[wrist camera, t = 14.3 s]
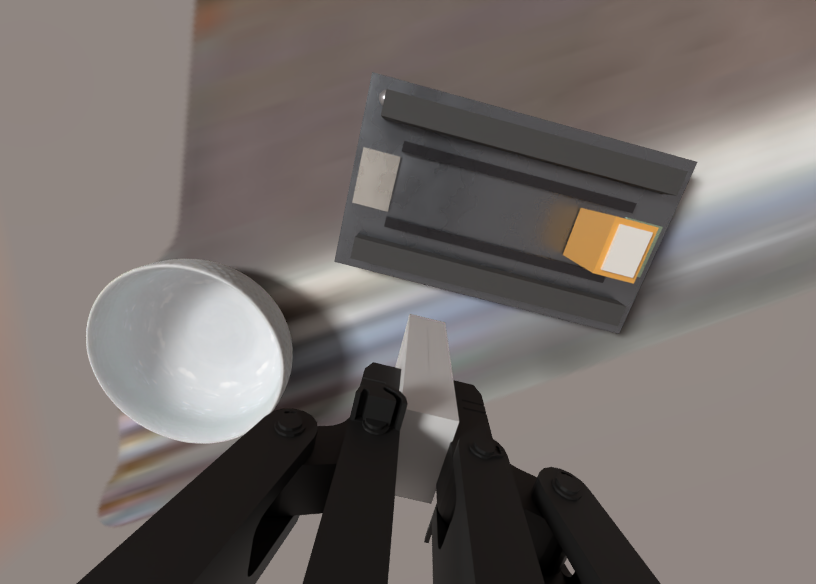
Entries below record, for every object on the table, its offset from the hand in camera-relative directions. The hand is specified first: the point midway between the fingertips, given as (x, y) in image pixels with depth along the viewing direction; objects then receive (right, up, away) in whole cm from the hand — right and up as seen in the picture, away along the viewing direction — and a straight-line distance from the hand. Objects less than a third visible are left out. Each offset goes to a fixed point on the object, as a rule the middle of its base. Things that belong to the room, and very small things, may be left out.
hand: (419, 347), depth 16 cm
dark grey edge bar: (+6, +4, +17) cm, 19 cm away
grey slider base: (+8, +10, +19) cm, 22 cm away
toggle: (+14, +7, +16) cm, 23 cm away
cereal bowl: (-19, -1, +23) cm, 30 cm away
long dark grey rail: (+9, +14, +14) cm, 22 cm away
